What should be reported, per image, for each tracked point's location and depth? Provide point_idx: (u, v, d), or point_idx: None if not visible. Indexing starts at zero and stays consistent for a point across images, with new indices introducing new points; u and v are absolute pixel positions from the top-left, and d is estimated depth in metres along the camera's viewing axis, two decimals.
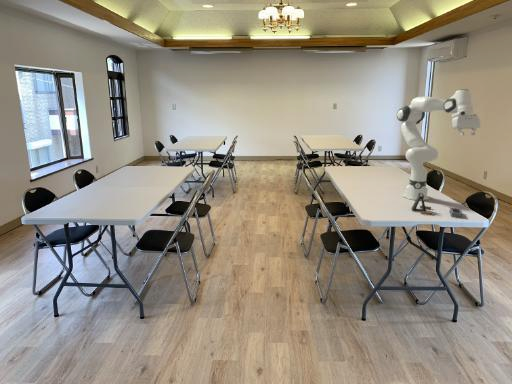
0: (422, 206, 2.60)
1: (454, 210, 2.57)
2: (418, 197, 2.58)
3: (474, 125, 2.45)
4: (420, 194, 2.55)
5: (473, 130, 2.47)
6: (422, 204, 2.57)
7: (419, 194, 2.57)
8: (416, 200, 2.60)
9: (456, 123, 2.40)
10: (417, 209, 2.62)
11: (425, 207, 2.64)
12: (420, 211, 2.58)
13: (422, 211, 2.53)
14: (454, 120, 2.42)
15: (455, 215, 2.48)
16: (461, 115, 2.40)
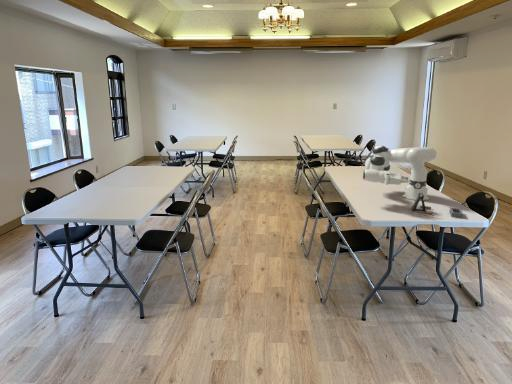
0: (422, 206, 2.60)
1: (454, 210, 2.57)
2: (418, 197, 2.58)
3: (399, 175, 2.64)
4: (420, 194, 2.55)
5: (403, 178, 2.64)
6: (422, 204, 2.57)
7: (419, 194, 2.57)
8: (416, 200, 2.60)
9: (396, 179, 2.51)
10: (417, 209, 2.62)
11: (425, 207, 2.64)
12: (420, 211, 2.58)
13: (422, 211, 2.53)
14: (393, 181, 2.53)
15: (455, 215, 2.48)
16: (390, 175, 2.55)
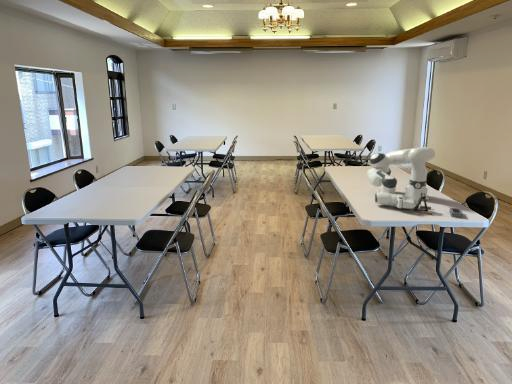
0: None
1: (454, 210, 2.57)
2: (420, 197, 2.58)
3: (411, 197, 2.64)
4: (422, 194, 2.55)
5: None
6: (424, 204, 2.56)
7: (421, 194, 2.56)
8: (418, 200, 2.60)
9: (409, 203, 2.51)
10: (419, 209, 2.61)
11: None
12: None
13: (422, 211, 2.53)
14: (405, 205, 2.52)
15: (455, 215, 2.48)
16: (402, 199, 2.55)
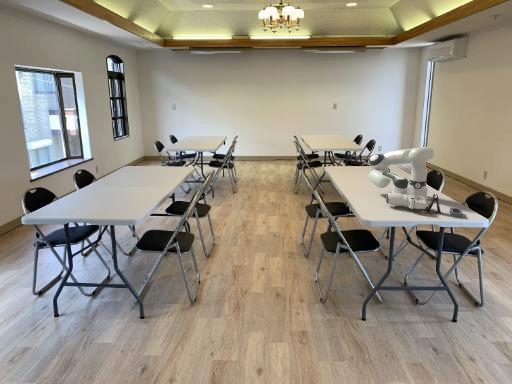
0: (437, 208, 2.57)
1: (454, 210, 2.57)
2: (433, 198, 2.56)
3: (423, 198, 2.62)
4: None
5: None
6: (437, 206, 2.55)
7: (434, 195, 2.54)
8: (431, 201, 2.58)
9: (422, 204, 2.49)
10: (432, 211, 2.59)
11: None
12: None
13: (422, 211, 2.53)
14: (418, 205, 2.51)
15: (455, 215, 2.48)
16: (414, 199, 2.53)
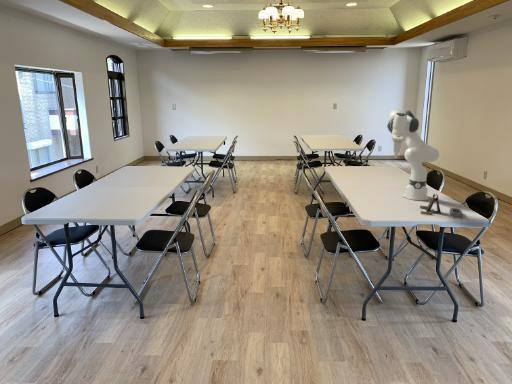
0: (437, 208, 2.57)
1: (454, 210, 2.57)
2: (433, 198, 2.56)
3: None
4: None
5: None
6: (437, 206, 2.55)
7: (434, 195, 2.54)
8: (431, 201, 2.58)
9: (398, 148, 2.50)
10: (432, 211, 2.59)
11: (425, 207, 2.64)
12: None
13: (422, 211, 2.53)
14: (397, 145, 2.51)
15: (455, 215, 2.48)
16: (402, 141, 2.51)
